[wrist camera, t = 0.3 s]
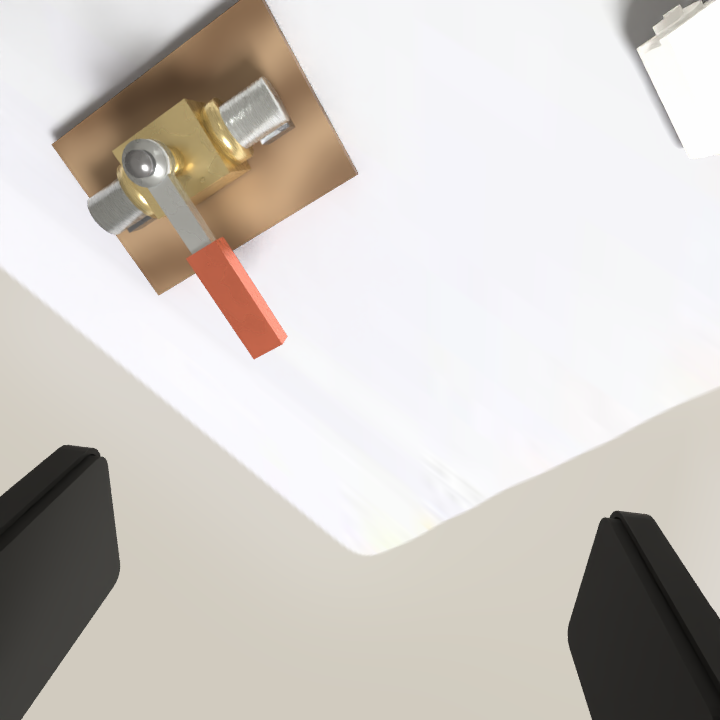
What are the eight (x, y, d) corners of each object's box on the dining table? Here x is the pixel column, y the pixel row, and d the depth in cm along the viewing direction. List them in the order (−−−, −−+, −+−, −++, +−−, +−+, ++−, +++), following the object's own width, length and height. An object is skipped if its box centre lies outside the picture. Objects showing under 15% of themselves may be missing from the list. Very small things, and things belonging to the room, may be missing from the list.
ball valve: (105, 182, 42) (41, 190, 35) (266, 67, 38) (232, 49, 31) (144, 239, 44) (91, 258, 36) (304, 135, 39) (279, 133, 32)
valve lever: (125, 154, 33) (105, 154, 31) (158, 130, 33) (140, 129, 31) (257, 352, 38) (248, 364, 36) (289, 335, 37) (282, 346, 35)
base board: (63, 144, 43) (51, 144, 41) (261, -6, 37) (255, -12, 36) (166, 291, 47) (158, 295, 45) (358, 174, 41) (356, 175, 40)
